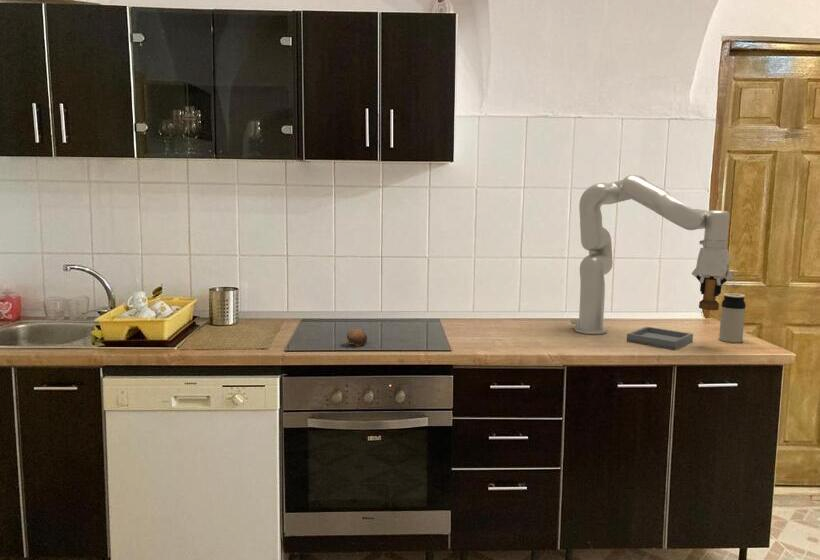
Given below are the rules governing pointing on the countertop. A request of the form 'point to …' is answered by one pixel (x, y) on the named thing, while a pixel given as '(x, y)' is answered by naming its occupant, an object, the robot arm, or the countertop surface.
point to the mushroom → (357, 337)
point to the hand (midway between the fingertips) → (710, 294)
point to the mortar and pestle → (709, 295)
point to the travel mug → (732, 318)
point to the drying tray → (660, 338)
